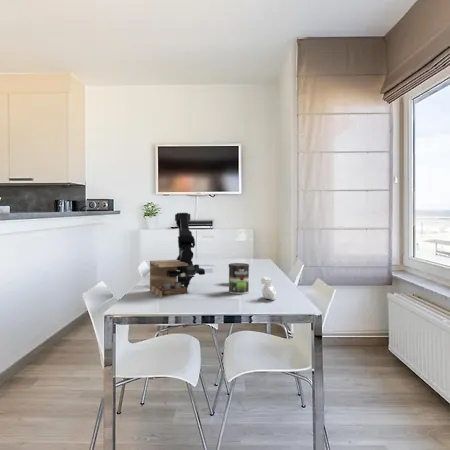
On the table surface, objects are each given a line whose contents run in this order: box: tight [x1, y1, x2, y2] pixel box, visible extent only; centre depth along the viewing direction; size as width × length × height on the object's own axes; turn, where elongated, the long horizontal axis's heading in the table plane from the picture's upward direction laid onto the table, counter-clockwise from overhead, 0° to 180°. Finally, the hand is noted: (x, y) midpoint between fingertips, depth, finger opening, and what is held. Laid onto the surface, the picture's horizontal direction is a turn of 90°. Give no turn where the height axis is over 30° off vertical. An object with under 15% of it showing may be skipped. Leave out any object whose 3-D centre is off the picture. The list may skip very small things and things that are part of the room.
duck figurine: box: [260, 276, 278, 301], centre depth 183 cm, size 12×8×11 cm
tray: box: [158, 282, 188, 297], centre depth 195 cm, size 9×12×5 cm
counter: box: [149, 259, 188, 299], centre depth 194 cm, size 18×14×15 cm
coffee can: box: [228, 262, 250, 295], centre depth 198 cm, size 10×10×14 cm
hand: (186, 289), depth 198 cm, fingers closed
